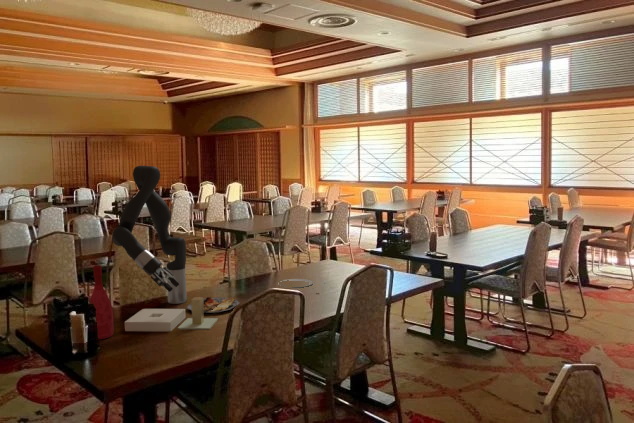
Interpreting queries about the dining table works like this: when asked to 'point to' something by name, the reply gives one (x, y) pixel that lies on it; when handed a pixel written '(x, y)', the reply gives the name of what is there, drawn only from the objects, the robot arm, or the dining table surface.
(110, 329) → the wine bottle
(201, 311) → the tan rectangular block
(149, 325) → the cover plate
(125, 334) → the dining table surface
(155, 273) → the robot arm
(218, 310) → the food plate
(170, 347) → the dining table surface
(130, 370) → the dining table surface
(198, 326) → the green pad
